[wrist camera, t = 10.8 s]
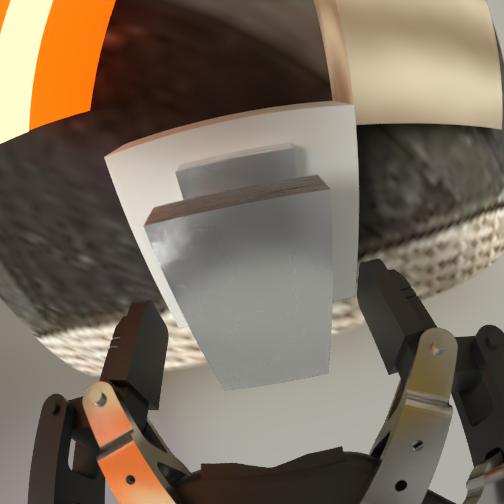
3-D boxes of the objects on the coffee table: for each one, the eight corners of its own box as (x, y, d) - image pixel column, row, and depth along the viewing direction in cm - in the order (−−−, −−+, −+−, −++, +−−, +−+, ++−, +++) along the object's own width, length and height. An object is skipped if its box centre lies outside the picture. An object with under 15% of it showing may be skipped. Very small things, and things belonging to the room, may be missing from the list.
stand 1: (125, 143, 14) (104, 157, 11) (332, 100, 13) (354, 104, 11) (184, 298, 20) (179, 327, 18) (341, 269, 20) (354, 296, 17)
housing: (179, 164, 12) (143, 226, 7) (287, 142, 12) (330, 189, 7) (224, 305, 17) (224, 390, 12) (304, 290, 17) (328, 373, 12)
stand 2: (296, -57, 7) (309, -78, 5) (452, -22, 7) (477, -27, 4) (334, 117, 14) (355, 125, 11) (474, 119, 13) (501, 129, 11)
